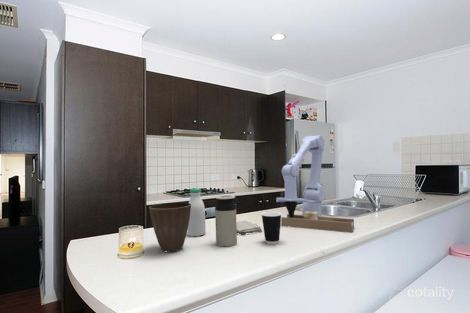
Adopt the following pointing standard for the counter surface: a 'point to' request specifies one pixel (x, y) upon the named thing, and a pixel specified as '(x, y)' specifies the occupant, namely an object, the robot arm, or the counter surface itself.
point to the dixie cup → (271, 226)
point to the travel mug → (225, 221)
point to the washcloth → (247, 227)
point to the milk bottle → (196, 214)
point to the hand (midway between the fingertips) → (291, 217)
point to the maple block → (311, 215)
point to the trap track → (320, 223)
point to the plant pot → (170, 224)
